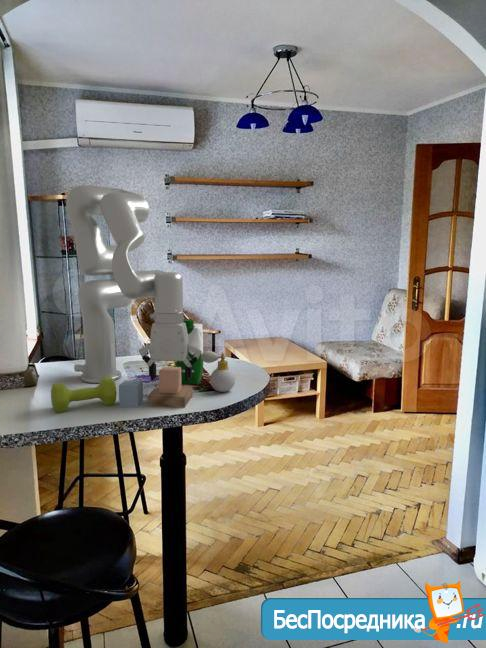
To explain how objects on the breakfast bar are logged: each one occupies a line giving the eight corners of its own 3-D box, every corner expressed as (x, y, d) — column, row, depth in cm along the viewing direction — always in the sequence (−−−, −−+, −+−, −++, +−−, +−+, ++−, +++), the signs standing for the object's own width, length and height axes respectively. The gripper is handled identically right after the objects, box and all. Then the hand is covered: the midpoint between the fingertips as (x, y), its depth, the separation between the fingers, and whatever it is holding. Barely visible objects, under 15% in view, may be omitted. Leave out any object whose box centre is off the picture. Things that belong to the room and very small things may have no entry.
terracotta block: (159, 392, 130) (158, 371, 128) (164, 387, 134) (163, 366, 133) (177, 393, 129) (176, 372, 128) (181, 387, 134) (181, 367, 133)
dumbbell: (53, 416, 120) (51, 389, 119) (51, 406, 127) (49, 381, 126) (118, 407, 127) (117, 381, 126) (113, 398, 134) (112, 373, 133)
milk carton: (172, 384, 147) (170, 321, 143) (179, 376, 156) (177, 316, 152) (200, 385, 146) (199, 321, 142) (205, 377, 155) (204, 316, 151)
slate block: (119, 407, 127) (118, 385, 126) (125, 400, 132) (125, 380, 131) (137, 407, 127) (136, 386, 126) (143, 401, 132) (142, 380, 130)
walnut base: (148, 405, 128) (148, 395, 127) (158, 394, 138) (158, 384, 137) (184, 407, 127) (184, 396, 126) (192, 395, 137) (192, 385, 136)
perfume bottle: (238, 393, 139) (238, 353, 137) (206, 396, 136) (206, 355, 134) (231, 385, 146) (231, 347, 144) (200, 388, 143) (199, 350, 141)
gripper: (133, 320, 125) (135, 382, 128) (198, 321, 124) (198, 384, 127) (142, 315, 133) (144, 374, 136) (203, 316, 131) (204, 376, 134)
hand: (170, 379), depth 131 cm, fingers open, 9 cm apart
